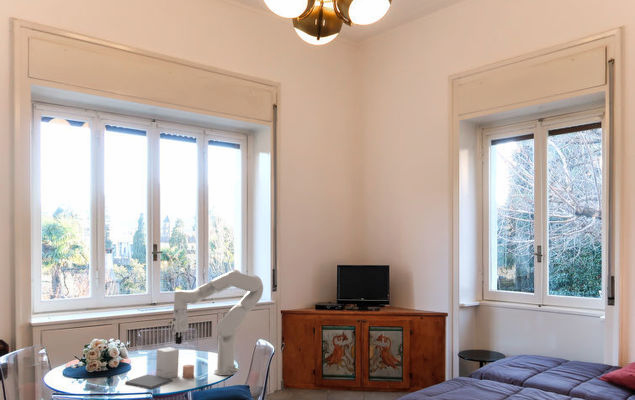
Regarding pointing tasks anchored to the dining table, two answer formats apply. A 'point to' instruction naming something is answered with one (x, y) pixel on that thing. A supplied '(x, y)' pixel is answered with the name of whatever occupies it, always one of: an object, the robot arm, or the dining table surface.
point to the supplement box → (167, 362)
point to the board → (149, 381)
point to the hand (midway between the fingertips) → (178, 343)
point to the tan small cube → (188, 371)
